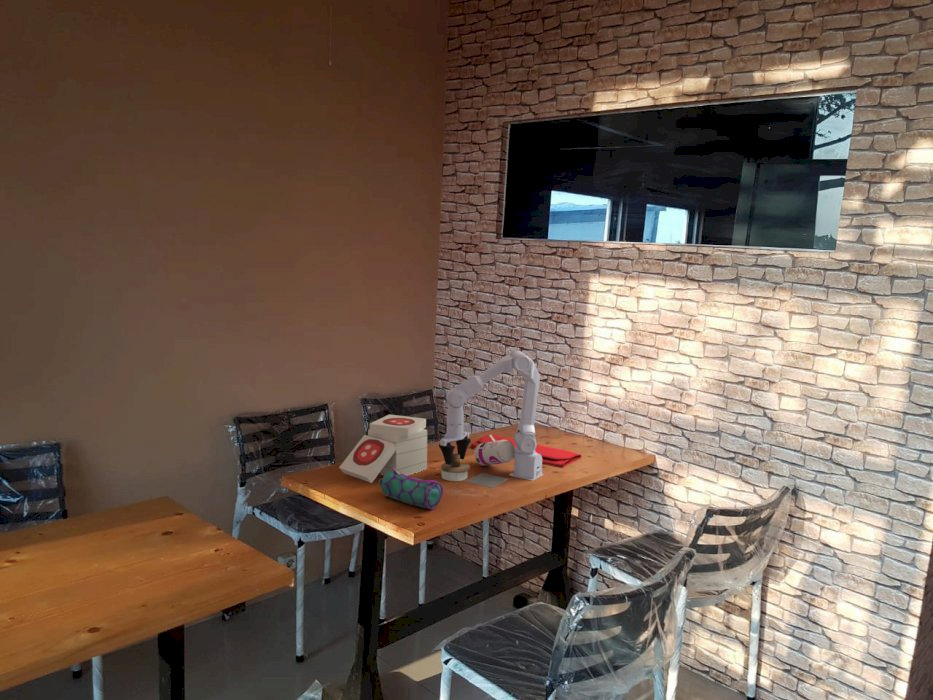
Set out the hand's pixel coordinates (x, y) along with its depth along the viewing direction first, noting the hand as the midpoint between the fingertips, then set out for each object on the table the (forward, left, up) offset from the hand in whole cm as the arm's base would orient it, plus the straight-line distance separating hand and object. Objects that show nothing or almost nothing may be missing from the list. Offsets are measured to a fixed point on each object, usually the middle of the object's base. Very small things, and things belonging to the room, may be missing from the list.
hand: (454, 461), depth 252 cm
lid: (0, 0, -2) cm, 2 cm away
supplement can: (+1, -18, -2) cm, 18 cm away
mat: (-11, -4, -6) cm, 13 cm away
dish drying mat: (-4, -41, -7) cm, 42 cm away
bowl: (0, 0, -6) cm, 6 cm away
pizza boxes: (+22, +11, -6) cm, 25 cm away
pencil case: (-3, +27, -6) cm, 28 cm away
